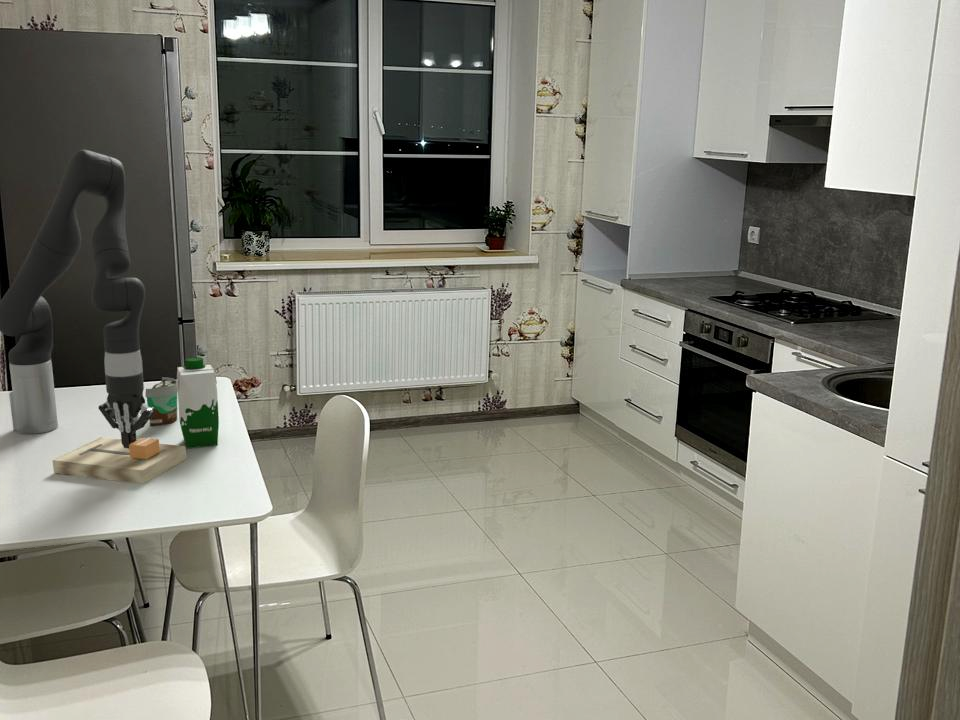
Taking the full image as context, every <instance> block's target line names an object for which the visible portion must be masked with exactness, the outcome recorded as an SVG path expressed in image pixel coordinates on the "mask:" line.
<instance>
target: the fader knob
mask: <svg viewBox="0 0 960 720" xmlns="http://www.w3.org/2000/svg"><path fill="white" fill-rule="evenodd" d="M159 444H160V439H159V438H153V437H141V438H139V439H137V441H135V442H133V443H131V444H129V452H130V458H137V459H148V458H150V457H152V456H154V455H155V454H157V453H159V452H160V448H159Z"/></svg>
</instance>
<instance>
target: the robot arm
mask: <svg viewBox="0 0 960 720" xmlns="http://www.w3.org/2000/svg"><path fill="white" fill-rule="evenodd" d="M83 193H84V194H89V195H92V196H96V197H100V198H104V201H105V205H106V206H105V207H106V208H105V211H104V214H103V215H102V217H101V218H100V220H99V221H98V223H96V226H95V228H94V229H93V232H92V238H91V242H92V243H91V244H92V245H91V246H92V252H93V253H92V254H93V258H94V259H93V260H94V264H95V268H94V269H95V272H94V279H93V284H92V288H91V293H90V296H91V297H90V299H91V304H92V306H93V307H94V308H95V309H96V310H97V311H98V312H100V313H117V312H118V313H119V312H120V313H121V312H127V313H126V315H125V316H124V317H123V318H122V319H120V320H115V321H112V322H110V323H107V324H106V325H104V326H103V334H102V335H103V345H104V347H103V348H104V360H103V361H104V362H103V363H104V374H105V375H104V376H105V386H106V387H105V389H106V393H107V394H108V395H107V397H106V401H105V402H103V403H102V404H100V405H98V410H99V412H100V413H101V415H102V416H103V417H104V419H105V420H106V421H107V423H108V424H109V425H110V426H111V428H112V429H116V430H118V431H119V432H120V439H121V443H122V445H123V447H124V448H128V449H129V444H131V443H133V442H135V441H137V440H138V439H137V431H139V430H140V429H143V428H144V427H145V426H146V424H147V423H148V422H149V419H150V417H151V416H152V415H153V413H154V412H155V409H154V408H153V407H151V408H149V407H148V405H147V403H146V399H145V397H144V390H145V389H144V388H145V387H144V370H143V358H142V354H141V347H140V346H141V345H140V323H141V317H142V312H143V308H144V304H145V300H146V287H145V285H144V283H143V282H142V280H141V279H139V278H137V277H120V276H123V275H124V274H126V273H128V272H129V270H130V269H131V266H132V265H131V263H132V262H131V256H130V252H129V245H128V240H127V233H126V173H125V168H124V166H123V163H122V162H121V161H120V160H119V159H117V158H114V157H112V156H109V155H106V154H101V153H100V152H99V153H98V152H95V151H92V150H88V149H79V150H77V151H75V152H74V153H73V155H72V156H71V158H70V159H69V161H68V163H67V166H66V168H65V171H64V174H63V176H62V179H61V182H60V184H59V187H58V190H57V193H56V194H55V198H54V200H53V202H52V205H51V207H50V209H49V211H48V213H47V215H46V218H45V219H44V222H43V223H42V225H41V227H40V228H39V231H38V232H37V234H36V235H35V236H36V237H35V238H34V240H33V242H32V245H31V246H30V249H29V252H28V254H27V256H26V258H25V260H24V261H23V263H22V265H21V267H20V268H19V269H20V270H19V271H18V273H17V275H16V277H15V279H14V280H13V282H12V283H11V285H10V286H9V288H8V289H7V291H6V293H5V294H4V296H3V297H2V298H1V300H0V332H1V333H2V334H4V336H8V337H20V339H19V341H18V342H17V344H16V345H15V346H13V347H12V348H10V350H9V352H8V363H9V365H8V366H9V371H10V372H9V373H10V380H11V388H12V391H10V392H9V402H10V403H9V405H10V412H11V420H12V421H11V423H12V430H13V431H17V432H18V433H21V434H24V435H25V434H26V435H27V434H32V435H33V434H42V433H46V432H50V431H53V430H56V429H57V428H58V427H59V421H58V412H57V401H56V393H55V392H56V390H55V383H54V382H55V381H54V374H53V363H52V351H53V349H54V335H53V316H52V312H51V311H52V310H51V307H50V305H49V302H48V301H47V300H46V298H45V297H43V296H42V295H43V294H44V293H45V292H46V291H47V290H48V289H49V288H50V287H51V286H52V285H54V284H55V283H56V282H57V281H58V280H59V279H60V278H61V277H63V275H64V274H65V273H66V272H67V271H68V270H69V269H70V267H71V266H72V264H73V263H74V261H75V258H76V256H77V255H78V252H79V251H80V248H81V246H82V234H81V229H80V228H81V227H80V226H79V221H78V218H77V212H76V207H77V202H78V200H79V198H80V195H81V194H83ZM139 414H140V415H139Z"/></svg>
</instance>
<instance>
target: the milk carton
mask: <svg viewBox="0 0 960 720" xmlns="http://www.w3.org/2000/svg"><path fill="white" fill-rule="evenodd" d="M184 361H185V366H184V365H183V366H179V367H178V366H177V371H176V380H177V386H178V392H177V404H178V413H179V414H178V415H179V425H180V429H181V433H182V437H183V441H184V444H185V448H186V449H195V448H204V447H212V446H218V445H219V443H218V442H219V429H220V428H219V426H220V424H219V423H220V420H219V402H218V387H217V382H218V381H217V376H216V373H215V369H214V368H213V367H212V365H211V364H204V358H203V357H199V356H193V357H187V358H185V359H184Z"/></svg>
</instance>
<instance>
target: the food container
mask: <svg viewBox="0 0 960 720" xmlns="http://www.w3.org/2000/svg"><path fill="white" fill-rule="evenodd" d="M144 394H145V397H144V398H146V405H147V406H148V407H149V408H151V407H153V408H154V409H155V412H154V413H153V415H152V416H151V417H150V419H149V420H148V422H149V426H150V427H159V426H166V425H169V424H173V423H175V422H177V420H178V386H177V378H176V379H175V378H172V377H163V376H162V377H161V381H160V382H159V383H155V384H154V385H153V386H152V387H151V388H145V393H144Z"/></svg>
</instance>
